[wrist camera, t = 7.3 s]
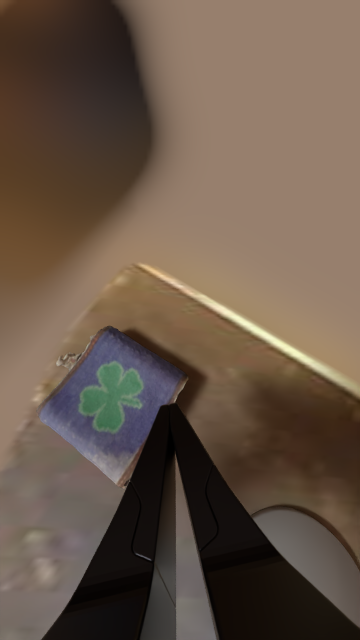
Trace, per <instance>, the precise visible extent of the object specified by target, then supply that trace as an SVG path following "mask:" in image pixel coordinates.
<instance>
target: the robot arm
mask: <svg viewBox="0 0 360 640" xmlns="http://www.w3.org/2000/svg"><path fill="white" fill-rule="evenodd" d="M175 453H176V458H177V462H178V467H179V471H180V476H181V480H182V485H183V489H184V494H185V498H186V503H187V507H188V512H189V517H190V521H191V526H192V530H193V535H194V539H195V544H196V548H197V553H198V557H199V562H200V566H201V571H202V575H203V580H204V584H205V589H206V593H207V598H208V602H209V607H210V611H211V616H212V620H213V625H214V630H215V634H216V639H217V640H360V627H358V626H357V625H356V624H355V623H353V622H352V621H351V620H350V619H349V618H348V617H347V616H346V615H345V614H344V613H343V612H342V611H341V610H339V609H338V608H337V607H336V606H335V605H334V604H333V603H332V602H331V601H330V600H329V599H328V598H327V597H326V596H324V595H323V594H322V593H321V592H320V591H319V590H318V589H317V588H316V587H315V586H314V585H313V584H312V583H310V582H309V581H308V580H307V579H306V578H305V577H304V576H303V575H302V574H301V573H300V572H299V571H298V570H297V569H295V568H294V567H293V566H292V565H291V564H290V563H289V562H288V561H287V560H286V559H285V558H284V557H283V556H282V555H281V554H280V552H279V551H278V550H277V549H276V548H275V547H274V545H273V544H272V543H271V542H270V541H269V539H268V538H267V537H266V535H265V534H264V533H263V532H262V530H261V529H260V528H259V526H258V525H257V524H256V522H255V521H254V520H253V518H252V517H251V516H250V515H249V513H248V512H247V511H246V509H245V508H244V507H243V505H242V504H241V503H240V501H239V500H238V499H237V497H236V496H235V495H234V493H233V492H232V490H231V489H230V488H229V486H228V485H227V483H226V482H225V480H224V479H223V477H222V475H221V474H220V472H219V471H218V469H217V467H216V466H215V464H214V463H213V461H212V459H211V458H210V456H209V454H208V453H207V451H206V449H205V448H204V446H203V444H202V443H201V441H200V439H199V438H198V436H197V434H196V433H195V431H194V429H193V428H192V426H191V425H190V423H189V421H188V420H187V418H186V416H185V415H184V413H183V411H182V410H181V408H180V406H179V405H178V403H170V404H165V405H161V406H160V408H159V410H158V413H157V415H156V417H155V420H154V422H153V425H152V427H151V430H150V432H149V434H148V437H147V439H146V442H145V444H144V447H143V449H142V451H141V454H140V456H139V459H138V461H137V464H136V466H135V468H134V471H133V473H132V476H131V478H130V482H129V483H128V485H127V488H126V490H125V493H124V495H123V497H122V499H121V502H120V504H119V506H118V509H117V511H116V513H115V515H114V517H113V519H112V521H111V523H110V525H109V527H108V529H107V531H106V533H105V535H104V537H103V539H102V541H101V543H100V545H99V547H98V548H97V550H96V552H95V554H94V556H93V558H92V560H91V562H90V564H89V566H88V568H87V570H86V572H85V574H84V576H83V578H82V580H81V581H80V583H79V585H78V587H77V589H76V591H75V592H74V594H73V596H72V598H71V599H70V601H69V602H68V604H67V606H66V607H65V609H64V610H63V611H62V613H61V614H60V616H59V617H58V619H57V620H56V621H55V623H54V624H53V625H52V626H51V628H50V629H49V630H48V632H47V633H46V634H45V636H44V637H43V638H42V639H41V640H176V609H175V608H176V480H175Z"/></svg>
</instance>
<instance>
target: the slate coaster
mask: <svg viewBox="0 0 360 640" xmlns="http://www.w3.org/2000/svg"><path fill="white" fill-rule="evenodd" d="M251 517H252V518H253V520H254V521H255V522H256V524H257V525H258V526H259V528H260V529H261V530H262V532H263V533H264V534H265V535H266V537H267V538H268V539H269V541H270V542H271V543H272V544H273V545H274V547H275V548H276V549H277V550H278V551H279V552H280V554H281V555H282V556H283V557H284V558H285V559H286V560H287V561H288V562H289V563H290V564H291V565H292V566H293V567H294V568H295V569H297V570H298V571H299V572H300V573H301V574H302V575H303V576H304V577H305V578H306V579H307V580H308V581H309V582H310V583H312V584H313V585H314V586H315V587H316V588H317V589H318V590H319V591H320V592H321V593H322V594H323V595H324V596H326V597H327V598H328V599H329V600H330V601H331V602H332V603H333V604H334V605H335V606H336V607H337V608H338V609H339V610H341V611H342V612H343V613H344V614H345V615H346V616H347V617H348V618H349V619H350V620H351V621H352V622H353V623H355V624H356V625H357V626H358V627H360V571H359V570H358V568H357V566H356V564H355V562H354V561H353V559H352V558H351V556H350V554H349V553H348V552H347V550H346V549H345V548H344V546H343V545H342V544H341V543H340V542H339V541H338V539H337V538H336V537H335V536H334V535H333V534H332V533H331V532H330V531H329V530H328V529H326V528H325V527H324V526H323V525H322V524H321V523H320V522H318V521H317V520H315V519H314V518H313V517H311V516H309V515H308V514H306V513H304V512H302V511H299V510H296V509H293V508H288V507H270V508H266V509H263V510H260V511H258V512H256V513H254V514H253V515H251Z"/></svg>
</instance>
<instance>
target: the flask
mask: <svg viewBox="0 0 360 640" xmlns="http://www.w3.org/2000/svg"><path fill="white" fill-rule="evenodd" d="M90 340H91V342H90V343H89V344H88V345H87V347H86V350H85V351H84V352H83V353H79V354H77V355H76V356H75V354H74V353H72V354H71V352H70V353H69V354H67V355H66V356H65V357H64V359H63V360H62V356H60V357H59V359H58V361H57V363H56V364H57V365H58V366H60V365H63V366H64V367H67V368H68V369H69V372H68V374H67V375H66V376H65V377H64V378H63V379H62V381H61V382H60V383H59V384H58V386H57V387H56V388H55V389H54V390H53V391H52V392H51V393H50V394H49V395H48V396H47V397H46V398H45V399H44V400H43V401H42V403H41V404H40V405H39V407H38V408H37V410H36V412H37V416H38V417H39V418H40V420H41V422H43V423H44V424H46V425H47V426H49V427H51V428H52V429H53V430H54V431H56V432H57V433H58V434H59V435H60V436H62V437H63V438H64V439H65V440H66V441H67V442H69V443H70V444H72V445H73V446H74V447H75V448H76V449H77V450H78V451H79V452H80V453H81V454H82V455H83V456H84V457H86V458H87V459H88V460H89V461H91V462H92V463H93V464H94V465H96V466H97V467H98V468H99V469H100V470H101V471H102V472H103V473H104V474H105V475H106V476H107V477H109V478H110V479H111V480H112V481H113V482H114V483H115V484H116V485H117V486H119V487H122V488H124V489H125V486H126V485H127V484H128V482H129V480H130V478H131V476H132V473H133V471H134V468H135V466H136V464H137V461H138V459H139V456H140V454H141V451H142V449H143V447H144V444H145V442H146V439H147V437H148V434H149V432H150V430H151V427H152V425H153V422H154V420H155V417H156V415H157V413H158V410H159V408H160V406H161V405H165V404H170V403H174V402H175V401H176V399H177V397H178V395H179V394H180V392H181V390H182V389H183V388H184V386H185V384H186V382H187V380H188V379H189V378H190V377H188V376H187V375H186V374H185V372H183V371H181V370H180V369H179V368H177V367H175V366H174V365H172V364H171V363H169V362H168V361H166V360H164V359H162V358H161V357H159V356H158V355H156V354H155V353H153V352H151V351H150V350H148V349H146V348H145V347H143V346H141V345H140V344H139V343H137V342H136V341H134V340H133V339H131V338H130V337H128V336H127V335H125V334H123V333H122V332H120V331H119V330H118V329H116V328H113V327H112V326H107V327H104V328H103V329H101V330H99V331H98V332H97V334H96V335H94V336H91V337H90Z"/></svg>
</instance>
